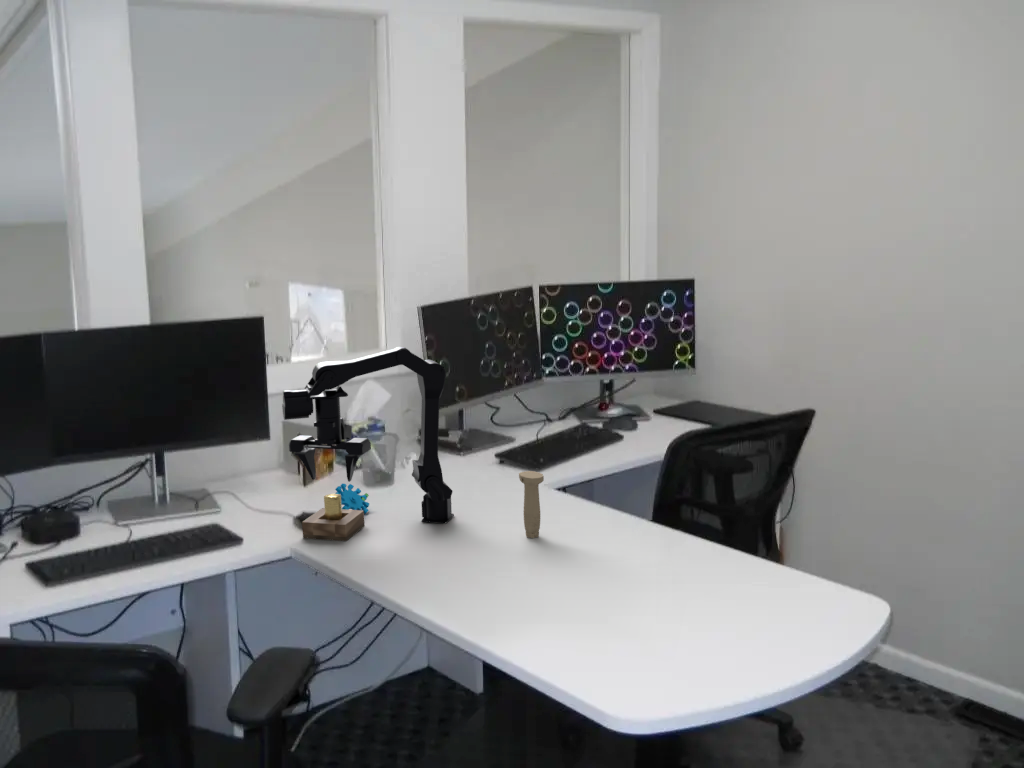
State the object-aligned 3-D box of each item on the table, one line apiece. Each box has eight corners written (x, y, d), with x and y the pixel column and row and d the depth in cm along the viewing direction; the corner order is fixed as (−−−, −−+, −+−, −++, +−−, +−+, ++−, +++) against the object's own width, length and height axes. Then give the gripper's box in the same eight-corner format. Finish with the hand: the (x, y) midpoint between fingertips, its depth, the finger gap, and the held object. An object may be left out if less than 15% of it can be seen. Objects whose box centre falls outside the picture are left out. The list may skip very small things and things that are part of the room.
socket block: (364, 526, 244) (363, 510, 243) (346, 541, 234) (345, 524, 233) (323, 523, 247) (322, 508, 246) (303, 538, 236) (302, 522, 236)
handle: (531, 542, 230) (530, 479, 227) (516, 534, 235) (514, 473, 233) (548, 538, 233) (547, 475, 230) (533, 530, 238) (532, 470, 235)
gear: (350, 516, 247) (330, 483, 250) (337, 530, 249) (317, 497, 253) (380, 510, 256) (361, 479, 259) (367, 523, 259) (348, 492, 262)
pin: (345, 526, 241) (343, 494, 240) (338, 531, 238) (336, 499, 236) (330, 525, 242) (328, 493, 241) (322, 530, 239) (321, 498, 237)
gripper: (378, 410, 240) (381, 473, 243) (307, 407, 245) (310, 469, 248) (359, 420, 230) (363, 485, 233) (285, 417, 234) (290, 481, 237)
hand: (331, 480), depth 238 cm, fingers open, 9 cm apart
